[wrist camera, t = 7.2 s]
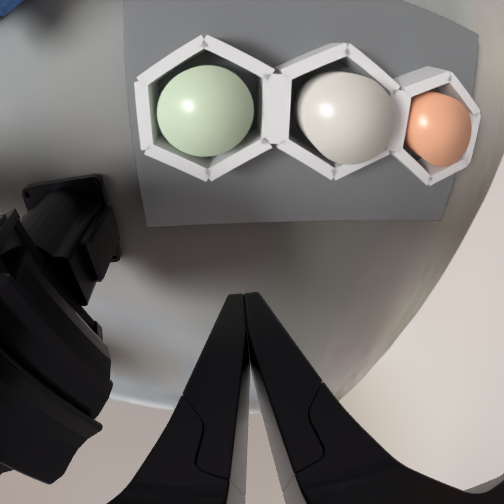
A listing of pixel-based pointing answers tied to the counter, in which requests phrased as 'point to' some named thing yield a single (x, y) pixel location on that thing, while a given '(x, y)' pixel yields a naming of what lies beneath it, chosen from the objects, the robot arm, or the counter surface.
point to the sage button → (205, 110)
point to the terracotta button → (437, 128)
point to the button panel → (292, 107)
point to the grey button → (345, 116)
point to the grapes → (8, 6)
